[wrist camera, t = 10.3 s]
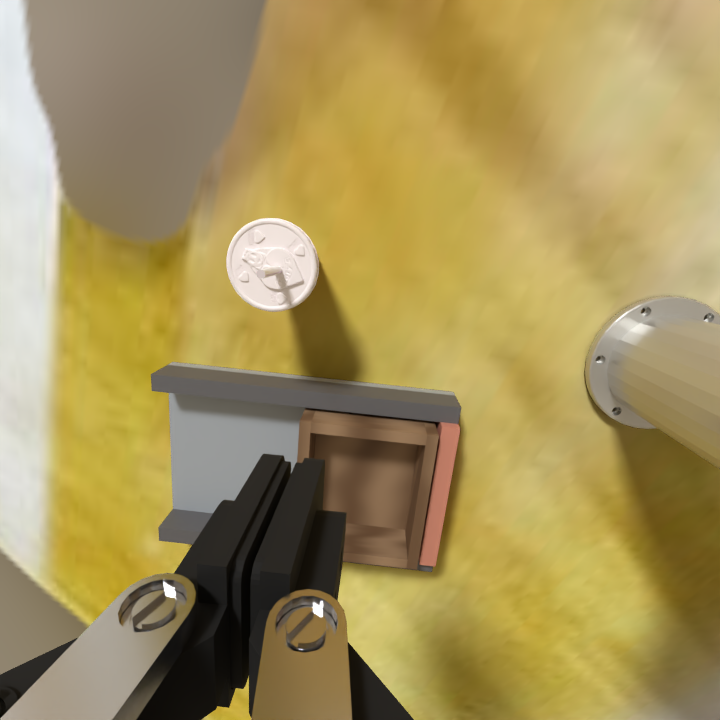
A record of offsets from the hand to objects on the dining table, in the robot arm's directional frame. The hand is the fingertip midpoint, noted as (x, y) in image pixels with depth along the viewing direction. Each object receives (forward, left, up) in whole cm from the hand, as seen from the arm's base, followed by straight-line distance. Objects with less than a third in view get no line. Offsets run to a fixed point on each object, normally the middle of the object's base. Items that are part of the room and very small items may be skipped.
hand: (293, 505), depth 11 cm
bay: (+4, +15, -29) cm, 32 cm away
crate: (-2, +15, -27) cm, 31 cm away
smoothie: (+6, -5, -29) cm, 30 cm away
